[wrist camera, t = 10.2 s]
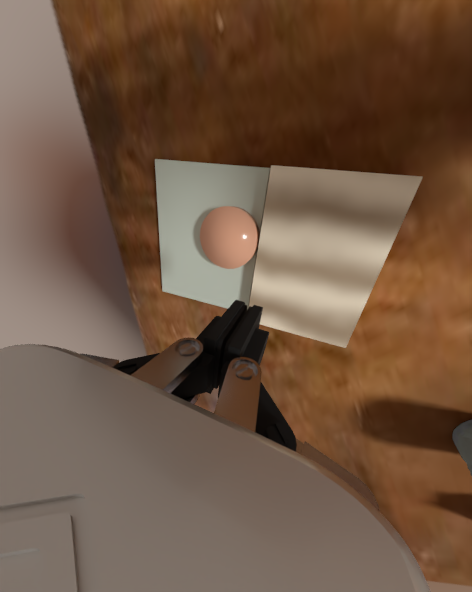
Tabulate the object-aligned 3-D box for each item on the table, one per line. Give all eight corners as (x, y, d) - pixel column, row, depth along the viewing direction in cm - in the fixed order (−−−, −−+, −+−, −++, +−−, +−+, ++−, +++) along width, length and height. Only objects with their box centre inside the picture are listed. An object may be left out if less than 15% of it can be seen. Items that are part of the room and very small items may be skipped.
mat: (159, 160, 28) (154, 158, 27) (271, 169, 24) (269, 168, 23) (165, 289, 37) (162, 291, 36) (248, 310, 33) (246, 313, 32)
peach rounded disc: (209, 201, 27) (202, 201, 25) (266, 212, 25) (262, 212, 23) (204, 258, 31) (198, 261, 29) (253, 271, 29) (250, 275, 27)
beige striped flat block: (275, 169, 24) (271, 165, 21) (408, 180, 21) (422, 176, 18) (251, 311, 33) (246, 320, 30) (342, 335, 29) (345, 348, 27)
